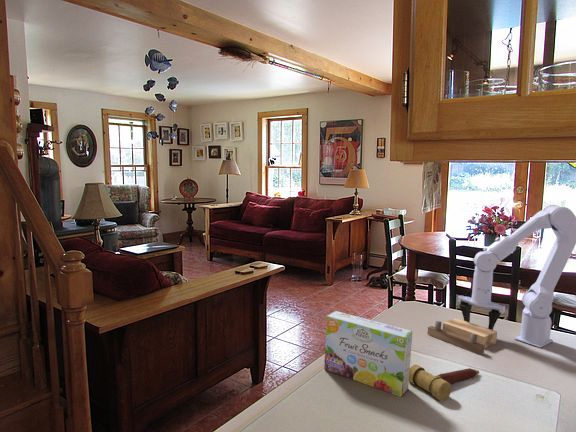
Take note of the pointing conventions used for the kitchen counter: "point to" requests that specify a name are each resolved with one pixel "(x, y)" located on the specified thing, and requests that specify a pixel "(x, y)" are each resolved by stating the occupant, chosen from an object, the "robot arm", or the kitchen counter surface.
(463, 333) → the wooden block
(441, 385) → the gavel
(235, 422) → the kitchen counter surface
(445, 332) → the bar
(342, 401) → the kitchen counter surface
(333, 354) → the snack box
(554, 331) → the kitchen counter surface
